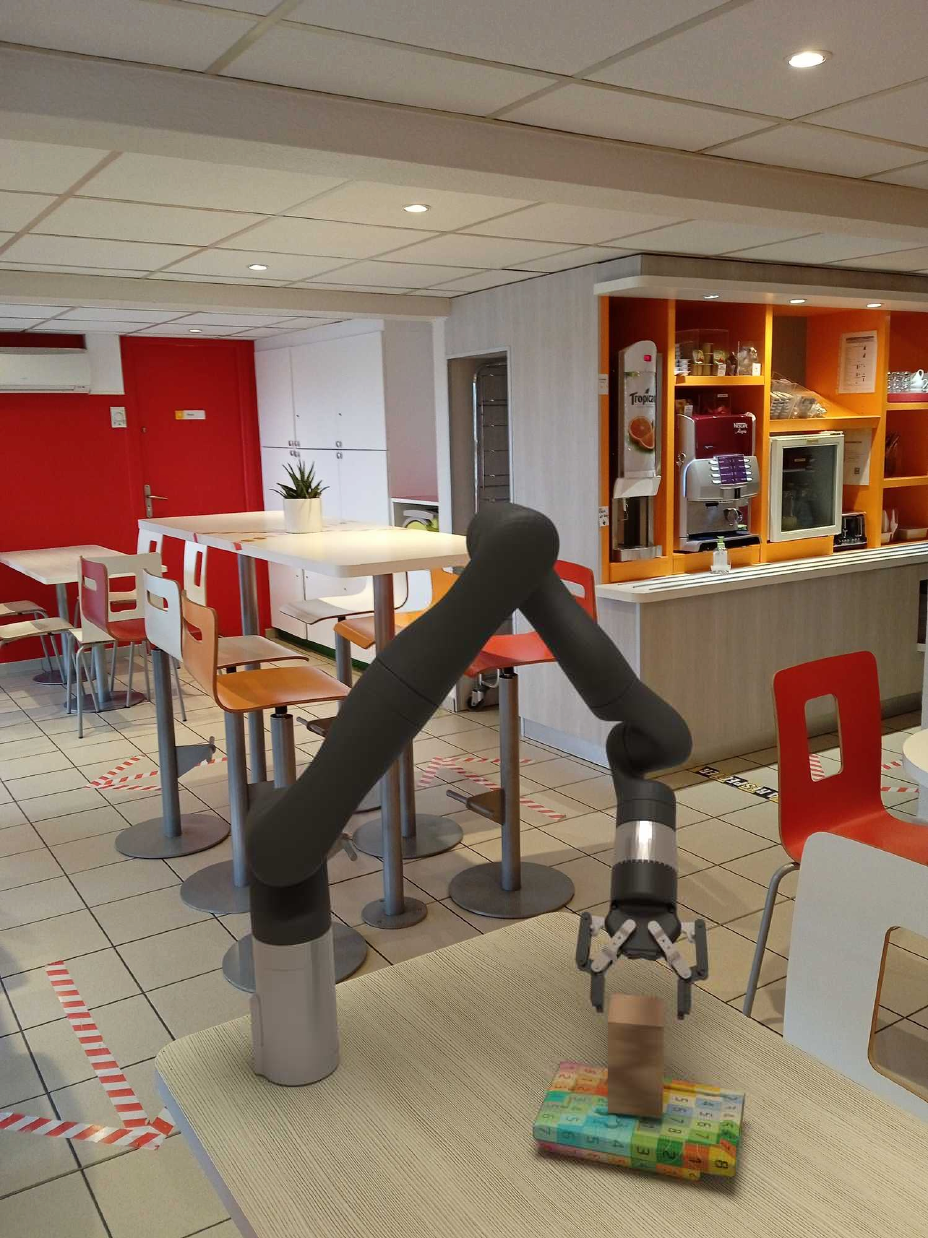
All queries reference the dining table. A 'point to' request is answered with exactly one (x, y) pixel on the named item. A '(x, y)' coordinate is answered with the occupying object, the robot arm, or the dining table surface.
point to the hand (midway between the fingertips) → (640, 1014)
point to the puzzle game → (642, 1125)
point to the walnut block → (636, 1055)
